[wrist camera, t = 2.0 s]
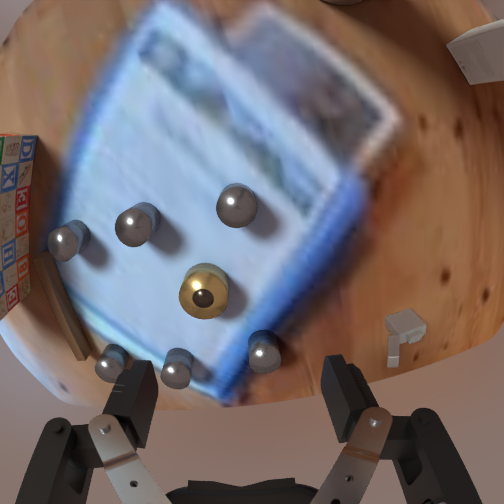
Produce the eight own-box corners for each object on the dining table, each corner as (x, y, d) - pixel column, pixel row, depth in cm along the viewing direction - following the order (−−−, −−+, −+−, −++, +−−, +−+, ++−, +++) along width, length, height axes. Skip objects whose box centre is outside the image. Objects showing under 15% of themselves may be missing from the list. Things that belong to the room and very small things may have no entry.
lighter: (411, 307, 36) (441, 340, 28) (410, 317, 36) (439, 351, 29) (365, 322, 36) (389, 360, 28) (365, 333, 36) (388, 371, 29)
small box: (469, 86, 26) (541, 79, 13) (444, 44, 24) (512, 22, 12) (493, 66, 24) (557, 59, 12) (470, 28, 22) (532, 10, 10)
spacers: (251, 180, 29) (253, 184, 26) (279, 355, 37) (283, 376, 33) (55, 225, 30) (37, 234, 26) (115, 372, 37) (106, 390, 33)
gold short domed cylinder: (223, 259, 32) (222, 272, 29) (232, 299, 34) (232, 315, 30) (179, 266, 32) (173, 280, 29) (190, 306, 34) (185, 322, 30)
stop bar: (51, 249, 31) (40, 257, 28) (92, 349, 36) (85, 360, 33) (43, 252, 31) (32, 259, 28) (84, 350, 36) (77, 360, 33)
